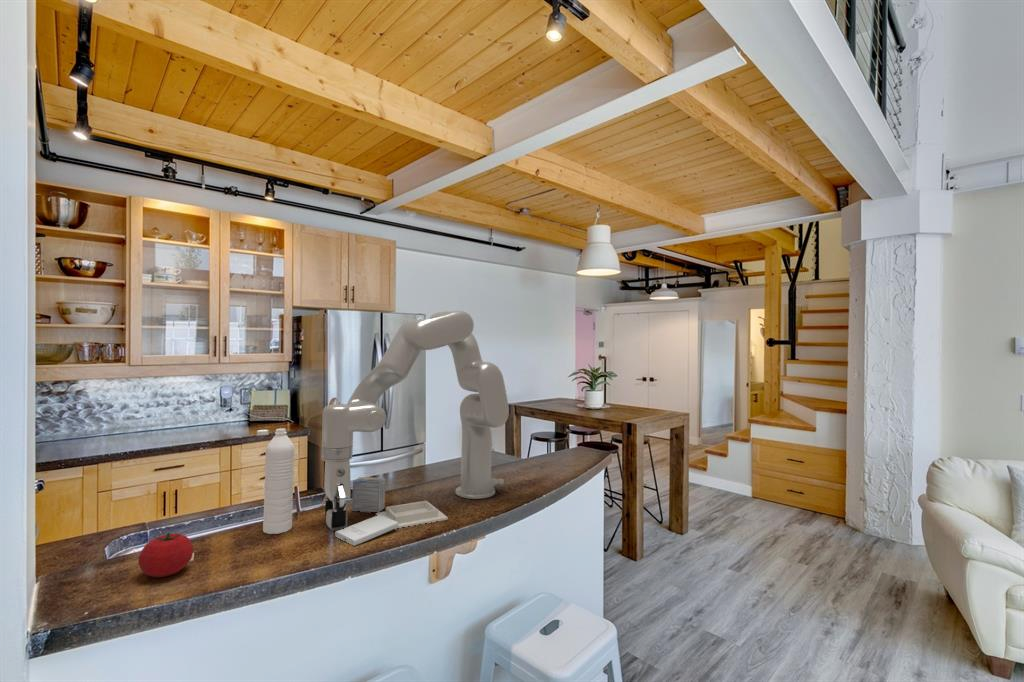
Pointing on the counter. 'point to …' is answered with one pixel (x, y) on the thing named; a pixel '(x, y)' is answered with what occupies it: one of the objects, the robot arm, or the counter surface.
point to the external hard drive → (366, 530)
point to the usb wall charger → (329, 520)
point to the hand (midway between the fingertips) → (334, 520)
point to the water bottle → (278, 483)
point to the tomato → (165, 555)
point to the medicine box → (368, 494)
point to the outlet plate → (413, 514)
